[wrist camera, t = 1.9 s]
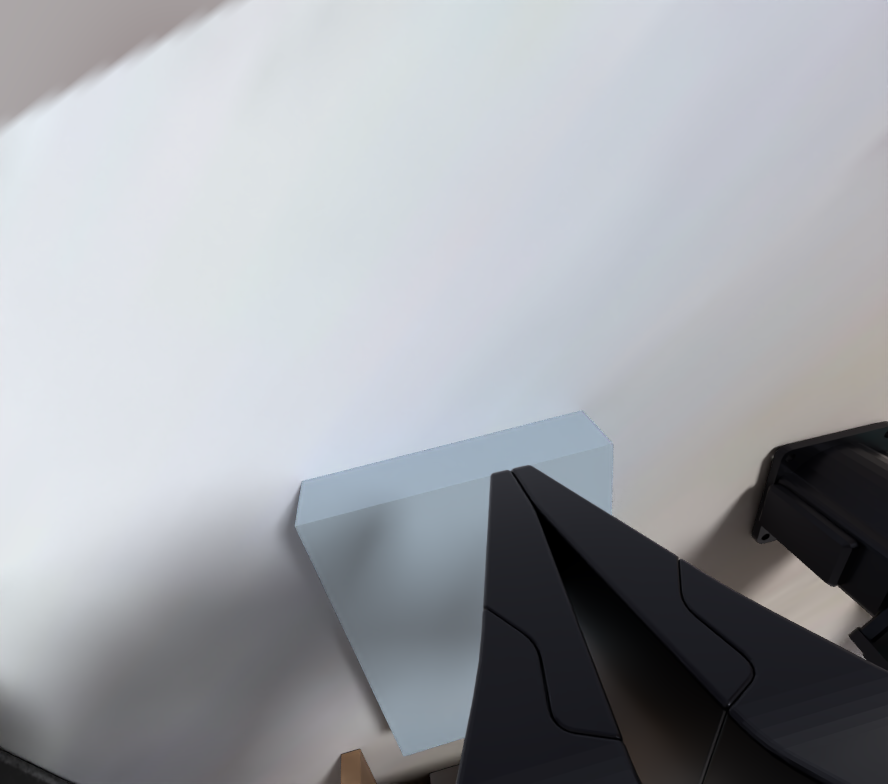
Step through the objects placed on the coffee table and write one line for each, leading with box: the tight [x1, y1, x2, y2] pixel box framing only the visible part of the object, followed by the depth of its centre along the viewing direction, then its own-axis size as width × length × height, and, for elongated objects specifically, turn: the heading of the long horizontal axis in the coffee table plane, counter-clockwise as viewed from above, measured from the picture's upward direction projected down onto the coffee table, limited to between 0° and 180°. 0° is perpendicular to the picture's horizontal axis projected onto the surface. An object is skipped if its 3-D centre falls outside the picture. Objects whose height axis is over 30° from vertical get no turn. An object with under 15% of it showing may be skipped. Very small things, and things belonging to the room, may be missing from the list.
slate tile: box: [295, 410, 613, 756], centre depth 22 cm, size 12×18×3 cm, turn 10°
